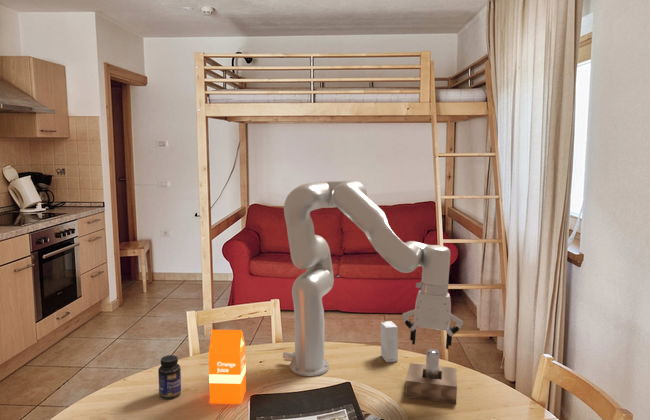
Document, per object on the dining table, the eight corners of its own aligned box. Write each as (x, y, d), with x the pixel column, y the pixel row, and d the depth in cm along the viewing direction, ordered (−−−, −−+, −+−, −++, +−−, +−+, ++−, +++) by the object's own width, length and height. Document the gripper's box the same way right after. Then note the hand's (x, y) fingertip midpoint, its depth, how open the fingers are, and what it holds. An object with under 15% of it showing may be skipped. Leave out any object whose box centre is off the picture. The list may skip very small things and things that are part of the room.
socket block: (405, 397, 141) (406, 380, 140) (409, 378, 152) (409, 363, 152) (456, 403, 137) (456, 386, 137) (455, 383, 149) (456, 368, 148)
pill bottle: (169, 402, 138) (167, 364, 136) (154, 396, 141) (153, 359, 139) (185, 393, 143) (184, 356, 141) (171, 387, 146) (170, 352, 145)
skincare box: (398, 361, 164) (399, 326, 163) (385, 362, 163) (386, 327, 162) (391, 354, 170) (392, 320, 169) (379, 355, 169) (380, 321, 168)
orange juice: (216, 390, 145) (214, 324, 142) (246, 390, 144) (245, 325, 142) (209, 403, 137) (207, 334, 134) (241, 404, 137) (239, 335, 134)
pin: (425, 389, 144) (426, 353, 142) (425, 383, 147) (426, 348, 146) (437, 390, 143) (439, 354, 141) (437, 384, 146) (439, 349, 145)
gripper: (402, 288, 140) (399, 346, 142) (465, 295, 135) (461, 354, 138) (405, 281, 147) (401, 336, 149) (465, 288, 143) (460, 344, 145)
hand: (430, 345), depth 144 cm, fingers open, 9 cm apart
